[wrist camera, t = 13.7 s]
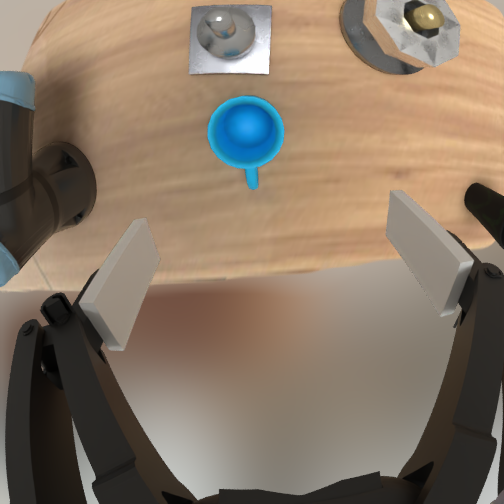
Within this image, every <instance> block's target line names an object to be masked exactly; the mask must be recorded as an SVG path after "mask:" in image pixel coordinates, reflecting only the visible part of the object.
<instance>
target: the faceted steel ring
mask: <svg viewBox="0 0 504 504" xmlns="http://www.w3.org/2000/svg"><path fill="white" fill-rule="evenodd" d="M427 4H432V5H434V6H436V7H437V8H438V9H439V10H440V11H441V12H442V14H443V16H444V19H445V23H444V25H443V26H442V27H439V28H433V29H428V30H424V31H422V36H421V35H419V34H417V33H415V32H413V30H412V29H411V27H410V26H409V24H408V23H407V21H406V20H405V18H404V17H403V15H404V8H407V9H409V10H413V9H415V8H418V7H421V6H424V5H427ZM363 23H364V25H365V26H366V27H367V29H368V30H369V31H370V33H371V34H372V36H373V37H374V38H375V40H376V41H377V43H378V44H379V46H380V47H381V49H382V50H383V52H384V53H385V54H386V55H389V56H392V57H394V58H397V59H399V60H401V61H404V62H406V63H408V64H411V65H413V66H415V67H436V66H438V65H440V64H442V63H444V62H446V61H448V60H450V59H452V58H454V57H456V56H458V53H459V41H460V24H459V22H458V20H457V19H456V17H455V15H454V14H453V12H452V10H451V9H450V7H449V6H448V4H447V3H446V1H445V0H365V6H364V14H363Z"/></svg>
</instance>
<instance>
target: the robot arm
mask: <svg viewBox="0 0 504 504" xmlns="http://www.w3.org/2000/svg"><path fill="white" fill-rule="evenodd" d="M35 84H36V83H35V79H34V77H33V76H32V75H31V74H29V73H26V72H18V71H17V72H16V71H0V287H2V286H4V285H5V284H6V283H7V282H8V281H9V280H10V279H11V278H12V277H13V276H14V275H16V274H18V272H19V271H20V270H21V268H22V267H23V266H24V265H25V264H26V263H27V261H28V260H29V259H30V258H31V257H32V256H33V255H34V254H35V253H36V251H37V250H38V249H39V248H40V247H41V246H42V245H43V244H44V243H45V242H46V241H47V240H48V239H49V238H50V237H51V236H52V235H53V234H54V233H57V232H59V231H62V230H65V229H68V228H71V227H74V226H76V225H77V224H79V223H80V222H81V221H82V220H83V219H84V218H85V217H86V216H87V215H88V214H89V213H90V212H91V210H92V208H93V206H94V202H95V198H96V182H95V177H94V173H93V170H92V168H91V165H90V164H89V162H88V160H87V159H86V157H85V156H84V155H83V153H82V152H81V151H80V150H79V149H77V148H76V147H74V146H73V145H71V144H68V143H65V142H55V143H52V144H49V145H47V146H45V147H43V148H41V149H40V150H39V151H37V152H36V153H35V155H34V156H33V157H32V134H33V118H34V111H35V106H34V98H35ZM386 236H387V238H388V239H389V240H390V242H391V243H392V244H393V246H394V247H395V249H396V250H397V251H398V253H399V254H400V256H401V257H402V258H403V260H404V261H405V263H406V264H407V266H408V267H409V269H410V270H411V271H412V273H413V275H414V276H415V278H416V279H417V281H418V282H419V284H420V285H421V287H422V288H423V290H424V292H425V293H426V294H427V296H428V298H429V300H430V301H431V303H432V304H433V306H434V308H435V309H436V311H437V313H438V314H439V316H440V317H442V316H446V315H449V314H453V313H454V311H455V308H456V306H457V304H458V303H459V305H460V306H461V308H462V310H461V312H460V314H459V316H458V318H457V320H456V322H455V324H454V328H455V327H456V326H457V328H456V334H455V338H454V342H453V346H452V350H451V354H450V358H449V362H448V365H447V369H446V372H445V376H444V379H443V382H442V385H441V389H440V392H439V394H438V397H437V400H436V403H435V406H434V408H433V411H432V413H431V416H430V418H429V421H428V423H427V426H426V428H425V430H424V433H423V435H422V437H421V439H420V442H419V444H418V446H417V448H416V450H415V452H414V454H413V455H412V456H411V458H410V459H409V460H408V462H407V463H406V464H405V466H404V467H403V468H402V470H401V472H400V473H399V475H398V477H397V478H396V477H389V476H380V471H378V472H374V473H371V474H367V475H363V476H359V477H354V478H350V479H345V480H341V481H339V482H336V483H334V484H332V485H329V486H327V487H324V488H321V489H319V490H316V491H314V492H311V493H308V494H305V495H291V494H283V493H276V492H270V491H264V490H259V489H255V490H233V489H232V490H231V489H219V494H216V495H212V496H208V497H205V498H203V499H200V500H197V499H196V498H195V497H194V496H193V494H192V493H191V492H190V491H189V490H188V489H187V488H186V487H185V486H184V485H183V484H182V483H181V482H179V481H178V480H177V479H176V477H175V476H174V475H173V473H172V472H171V471H170V469H169V468H168V467H167V465H166V464H165V462H164V461H163V460H162V458H161V457H160V455H159V454H158V452H157V451H156V449H155V448H154V446H153V444H152V443H151V441H150V440H149V438H148V437H147V435H146V433H145V432H144V430H143V428H142V427H141V425H140V423H139V422H138V420H137V418H136V416H135V415H134V413H133V411H132V409H131V407H130V406H129V404H128V402H127V400H126V398H125V396H124V394H123V392H122V390H121V388H120V386H119V384H118V382H117V380H116V378H115V376H114V374H113V372H112V370H111V368H110V365H109V363H108V361H107V359H106V356H105V354H104V352H103V351H102V350H101V345H102V343H103V342H104V343H105V344H106V346H107V347H108V348H109V350H118V351H124V349H125V347H126V344H127V341H128V338H129V336H130V333H131V330H132V328H133V325H134V322H135V320H136V317H137V314H138V312H139V309H140V307H141V304H142V302H143V299H144V297H145V295H146V292H147V290H148V287H149V285H150V282H151V280H152V278H153V275H154V273H155V271H156V268H157V266H158V264H159V262H160V257H159V254H158V251H157V248H156V246H155V243H154V240H153V237H152V234H151V231H150V228H149V225H148V222H147V218H141V219H135V220H133V222H132V223H131V224H130V226H129V227H128V229H127V230H126V231H125V233H124V234H123V235H122V237H121V238H120V240H119V241H118V243H117V244H116V245H115V247H114V248H113V250H112V251H111V253H110V254H109V256H108V257H107V259H106V260H105V262H104V263H103V265H102V266H101V268H100V269H98V270H97V271H95V272H94V273H93V274H92V275H91V276H90V278H89V279H88V281H87V282H86V285H85V286H84V287H83V290H81V292H80V294H79V295H78V297H77V299H76V300H75V302H74V303H73V305H72V306H71V304H70V302H69V301H68V299H67V297H66V296H65V294H64V293H56V294H54V295H52V296H50V297H49V298H47V299H46V301H45V302H44V303H43V304H42V306H41V310H40V311H41V313H42V314H43V316H44V317H45V319H46V320H47V322H48V323H49V325H47V326H44V327H42V326H41V325H40V324H39V322H38V321H37V320H36V319H32V320H29V321H27V322H25V324H23V325H22V327H21V329H20V330H19V333H18V336H17V340H16V345H15V350H14V355H13V361H12V366H11V373H10V380H9V388H8V397H7V409H6V431H5V433H6V434H5V442H6V443H5V448H6V449H5V450H6V470H7V481H8V489H9V496H10V504H87V501H86V497H85V493H84V489H83V485H82V481H81V476H80V471H79V466H78V461H77V455H76V449H75V442H74V436H73V435H74V434H73V426H72V418H73V421H74V424H75V427H76V429H77V432H78V435H79V437H80V440H81V443H82V445H83V448H84V450H85V452H86V455H87V457H88V460H89V462H90V464H91V466H92V468H93V471H94V473H95V476H96V480H95V481H94V482H93V483H92V489H93V492H94V494H95V496H96V498H97V500H98V502H99V504H476V503H477V501H478V499H479V496H480V494H481V492H482V489H483V487H484V484H485V482H486V479H487V476H488V473H489V470H490V468H491V465H492V462H493V458H494V455H495V452H496V446H497V440H496V438H494V437H492V435H491V432H492V427H493V423H494V419H495V414H496V410H497V404H498V399H499V393H500V387H501V381H502V393H503V429H502V445H501V455H500V463H499V474H498V497H497V499H496V500H494V501H493V502H491V503H490V504H504V275H503V273H502V271H501V270H500V269H499V268H498V267H497V266H495V265H493V264H490V263H481V261H480V260H479V259H478V258H477V257H476V256H475V255H474V254H473V253H472V252H471V251H470V249H469V248H467V246H466V245H465V244H464V243H462V241H461V240H460V239H459V238H458V237H457V236H456V235H454V234H453V233H451V232H450V231H448V230H445V229H444V228H443V227H442V226H441V225H440V224H439V223H438V222H437V221H436V220H435V219H434V218H433V217H432V216H430V215H429V214H428V213H427V212H426V211H425V210H424V209H423V208H422V207H421V206H420V205H419V204H417V203H416V202H415V201H414V200H413V199H412V198H411V197H409V196H408V195H407V194H406V193H405V192H404V191H402V190H393V191H390V198H389V209H388V219H387V227H386ZM41 366H42V367H43V368H44V370H43V371H42V368H41Z"/></svg>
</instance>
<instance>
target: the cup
mask: <svg viewBox="0 0 504 504" xmlns="http://www.w3.org/2000/svg"><path fill="white" fill-rule="evenodd" d="M464 201H465V206H466V208H467V209H468V210H469V211H470V212H471V213H472V214H473V215H474V216H475V217H476V218H477V219H478V220H479V222H480V223H481V224H482V225H483V226H484V227H485V228H486V229H487V231H488V232H489V233H490V234H491V235H492V236H493V238H494V239H495V240H496V241H497V242H498V243H499V245H500V246H501V247H502V248H503V249H504V196H502V195H501V194H499V193H497V192H495V191H493V190H491V189H489V188H487V187H485V186H483V185H481V184H479V183H474V184H472V185H471V186H470V187H469V188H468V189H467V191H466V194H465V199H464Z"/></svg>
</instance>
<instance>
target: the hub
mask: <svg viewBox="0 0 504 504" xmlns="http://www.w3.org/2000/svg"><path fill="white" fill-rule="evenodd" d="M364 6H365V0H346V1H345V2H344V3H343V5H342V7H341V11H340V27H341V31H342V34H343V36H344V39H345V41H346V42H347V44H348V46H349V47H350V48H351V50H352V51H353V52H354V53H355V54H356V56H357V57H358V58H360V59H361V60H362V61H363V62H364V63H366V64H367V65H369V66H370V67H372V68H374V69H376V70H378V71H381V72H384V73H388V74H395V75H403V74H412V73H415V72H418V71H420V70H422V69H423V68H424V67H415V66H413V65H411V64H408V63H406V62H404V61H401V60H399V59H397V58H394V57H392V56H389V55H386V54H385V53H384V52H383V50H382V49H381V47H380V46H379V44H378V43H377V41H376V40H375V38H374V37H373V36H372V34H371V33H370V31H369V30H368V29H367V27H366V26H365V25H364V23H363V14H364ZM403 17H404V18H405V20H406V21H407V23H408V24H409V26H410V27H411V29H412V30H413V32H415V33H417V34H419V35H421V36H422V31H424V30H428V29H433V28H439V27H442V26H443V25H444V23H445V19H444V16H443V14H442V12H441V11H440V10H439V9H438V8H437V7H436V6H434V5H432V4H427V5H424V6H421V7H418V8H415V9H413V10H409V9H407V8H404V15H403Z"/></svg>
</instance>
